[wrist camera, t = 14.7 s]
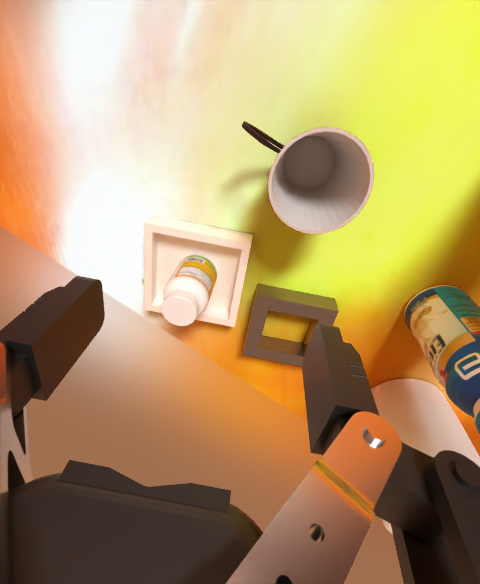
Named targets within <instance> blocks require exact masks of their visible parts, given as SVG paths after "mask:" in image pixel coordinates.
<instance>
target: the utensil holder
mask: <svg viewBox="0 0 480 584" xmlns="http://www.w3.org/2000/svg"><path fill="white" fill-rule="evenodd" d="M371 391H372V394H373V397H374V400H375V403H376V406H377V409H378V412H379V415H380V417H382V418H384V419H385V420H386V421H388V422H389V423H390V424H391V425H392V426H393V428H394V429H395V430H396V432H397V433H398V435H399V437H400V440H401V441H402V442H403V443H405V444H407V445H408V446H411V447H413V448H415V449H417V450H419V451H421V452H423V453H425V454H427V455H429V456H431V457H433V458H434V457H435V456H436V455H437V454H438V453H439V452H440V451H443V450H451V451H455V452H458V453H460V454H462V455H464V456H466V457H468V458H469V459H470V460H472V461H473V462H474V463H476V464H477V465H478V466H479V467H480V457H479V455H478V453H477V452H476V450H475V448H474V446H473V444H472V443H471V441H470V439H469V437H468V435H467V434H466V432H465V430H464V428H463V427H462V425H461V423H460V421H459V420H458V418H457V416H456V415H455V413H454V411H453V410H452V408H451V406H450V405H449V403H448V402H447V400H446V398H445V397H444V395H443V394H442V392H441V391H440V390H439V389H438V388H437V387H436V386H434V385H433V384H431V383H429V382H426V381H423V380H419V379H411V378H403V379H395V380H390V381H386V382H384V383H381V384H379V385H377V386H375V387H373V388H372V389H371ZM382 521H383V524H384V526H385V527H386V529H387V530H388V531H389V532H390V533H392V534H393V532H392V528H391V524H390V523H389V522H387V521H385V520H383V519H382Z"/></svg>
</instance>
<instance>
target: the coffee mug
mask: <svg viewBox="0 0 480 584" xmlns="http://www.w3.org/2000/svg"><path fill="white" fill-rule="evenodd" d="M242 127H243V128H244V129H245V130H246V131H247V132H248V133H249V134H250V135H251V136H253V137H254V138H255V139H256V140H258V141H259V142H260V143H262V144H263V145H264V146H266V147H268V148H270V149H271V150H273V151H275V152H277V153H279V154H278V155H277V157H276V159H275V161H274V163H273V165H272V168H271V171H270V174H269V181H268V194H269V198H270V202H271V205H272V207H273V209H274V211H275V213H276V214H277V216H278V217H279V218H280V219H281V221H283V222H284V223H285V224H286V225H287V226H289V227H291V228H293V229H294V230H296V231H300V232H303V233H309V234H322V233H327V232H331V231H334V230H336V229H339V228H341V227H343V226H344V225H346V224H347V223H349V222H350V221H351V220H353V219H354V218H355V217H356V216H357V215H358V214H359V213H360V211H361V210H362V209H363V207H364V206H365V204H366V202H367V200H368V198H369V196H370V194H371V190H372V187H373V180H374V169H373V163H372V159H371V156H370V154H369V152H368V150H367V149H366V147H365V145H364V144H363V143H362V142H361V141H360V140H359V139H358V138H357V137H356V136H354V135H352V134H351V133H349V132H348V131H345V130H342V129H339V128H331V127H322V128H315V129H312V130H309V131H306V132H303V133H301V134H300V135H298V136H296V137H294V138H293V139H292V140H291V141H290V142H289V143H287V144H286V145H285V146H284V145H282V144H280V143H279V142H277V141H276V140H274V139H273V138H271V137H270V136H268V135H267V134H265V133H264V132H262V131H261V130H259V129H257V128H256V127H254V126H253V125H251V124H249V123H247V122H245V121H244V122H243V124H242ZM264 138H265V139H264ZM267 140H268V141H269V142H268V141H267ZM270 142H271V143H272V144H274V145H275V146H277V147H279V148H280V149H282V150H280V149H279V148H277V147H275V146H273V145H272V144H271V143H270Z"/></svg>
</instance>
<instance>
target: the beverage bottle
mask: <svg viewBox="0 0 480 584" xmlns="http://www.w3.org/2000/svg"><path fill="white" fill-rule="evenodd" d="M404 318H405V322H406V324H407V326H408V327H409V329H410V330H411V332H412V334H413V335H414V337H415V339H416V341H417V342H418V344H419V346H420V348H421V349H422V351H423V353H424V355H425V357H426V358H427V360H428V362H429V364H430V365H431V367H432V370H433V373H434V375H435V377H436V378H437V380H438V381H439V383H440V384H441V385H442V386H443V387H445V388H446V393H447V395H448V397H449V398H450V400H451V401H452V402H453V403H454V404H455V405H456V406H457V407H459V408H460V409H461V410H462V411H464V412H465V413H467V414H468V415H470V416H472V417H474V421H475V425H476V428H477V430H478V431H479V433H480V308H479V307H478V306H477V304H476V303H475V302H474V301H473V300H472V299H471V298H470V297H469V296H468V295H467V294H466V293H465V292H464V291H463V290H461V289H460V288H457V287H455V286H450V285H438V286H433V287H429V288H427V289H424V290H422V291H421V292H419V293H417V294H416V295H415V296H414V297H413V298H412V299H411V300H410V301H409V302H408V304H407V306H406V308H405V312H404Z"/></svg>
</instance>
